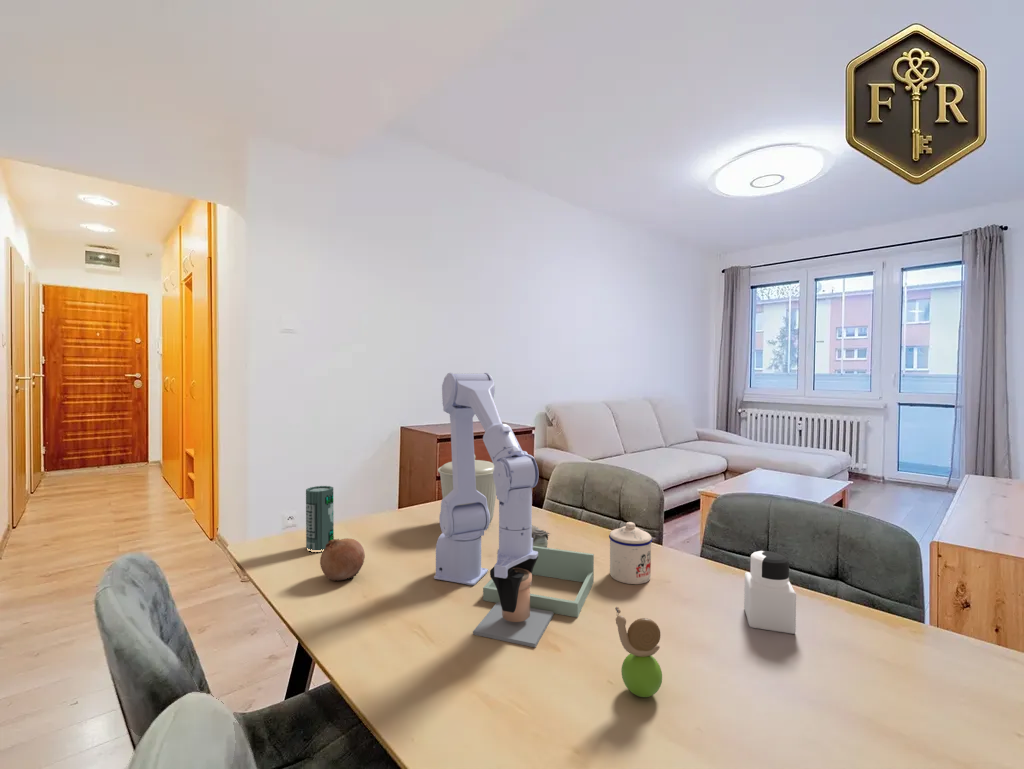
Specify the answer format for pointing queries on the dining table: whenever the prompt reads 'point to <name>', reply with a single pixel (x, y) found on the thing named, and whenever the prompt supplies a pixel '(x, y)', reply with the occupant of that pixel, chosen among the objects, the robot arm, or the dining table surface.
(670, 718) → the dining table surface
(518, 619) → the terracotta pot
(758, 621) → the medicine bottle
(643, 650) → the snail figurine
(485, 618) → the slate mat
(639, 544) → the teacup with lid
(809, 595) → the dining table surface
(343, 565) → the brown kiwi fruit
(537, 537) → the decorative bird
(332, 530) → the can
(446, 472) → the canister
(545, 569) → the frame
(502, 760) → the dining table surface
